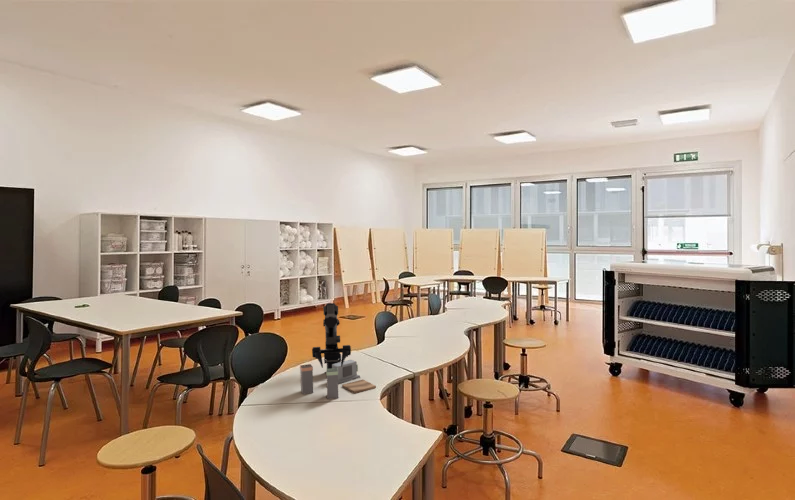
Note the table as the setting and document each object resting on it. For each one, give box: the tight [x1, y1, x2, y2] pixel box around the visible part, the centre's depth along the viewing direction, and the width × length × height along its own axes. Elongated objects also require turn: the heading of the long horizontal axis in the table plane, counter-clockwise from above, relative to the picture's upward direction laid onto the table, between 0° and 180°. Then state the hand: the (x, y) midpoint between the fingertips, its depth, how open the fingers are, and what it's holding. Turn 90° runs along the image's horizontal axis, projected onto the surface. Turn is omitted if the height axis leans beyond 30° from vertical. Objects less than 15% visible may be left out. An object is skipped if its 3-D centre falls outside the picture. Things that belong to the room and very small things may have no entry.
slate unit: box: [332, 359, 361, 385], centre depth 229 cm, size 8×14×8 cm, turn 132°
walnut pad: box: [341, 379, 377, 394], centre depth 217 cm, size 12×12×1 cm
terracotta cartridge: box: [299, 363, 314, 395], centre depth 212 cm, size 5×5×12 cm
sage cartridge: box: [325, 368, 339, 400], centre depth 205 cm, size 5×5×12 cm
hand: (332, 366), depth 211 cm, fingers open, 9 cm apart
